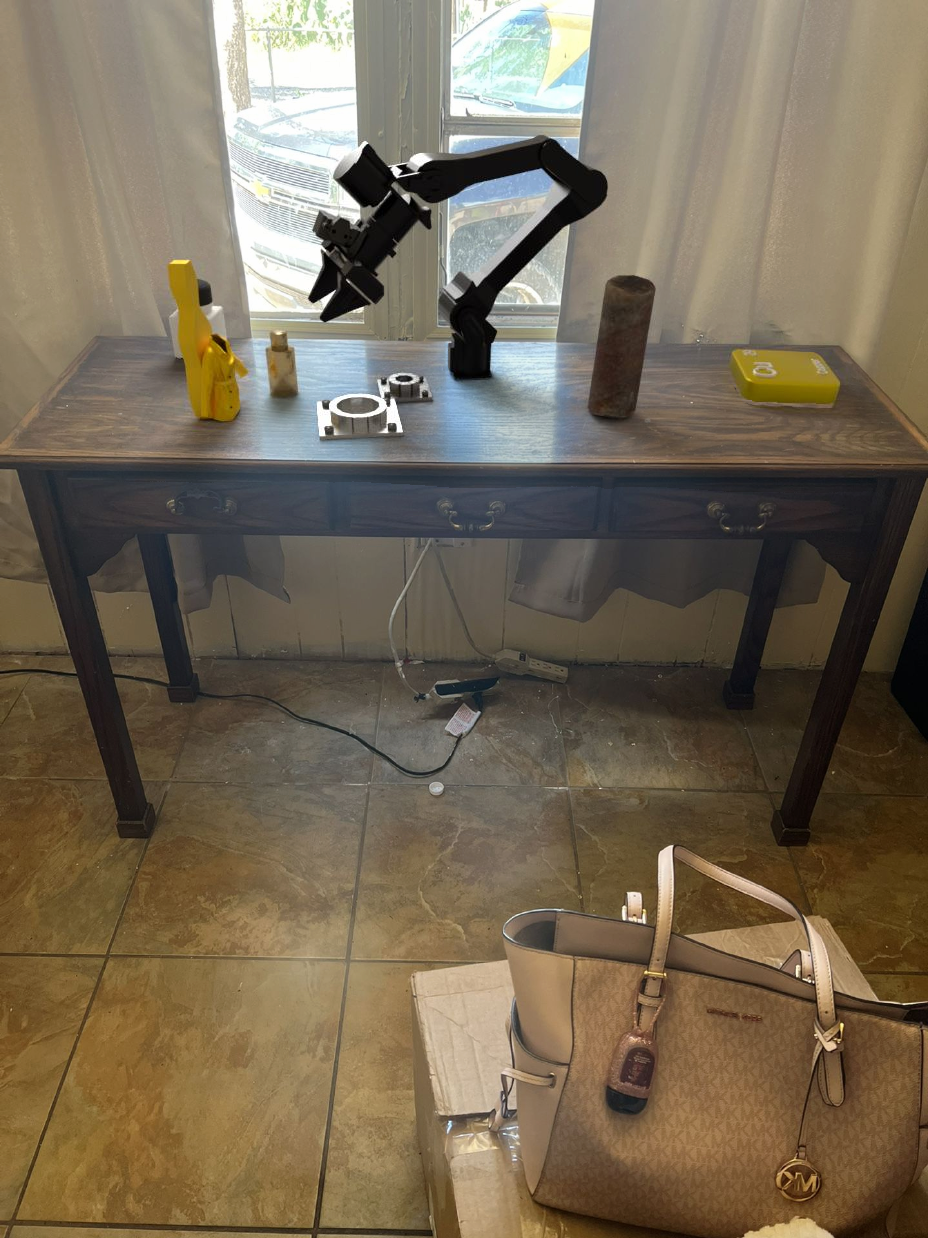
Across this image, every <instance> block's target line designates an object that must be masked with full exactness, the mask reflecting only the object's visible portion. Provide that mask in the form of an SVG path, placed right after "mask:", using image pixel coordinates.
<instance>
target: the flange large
mask: <svg viewBox="0 0 928 1238" xmlns="http://www.w3.org/2000/svg"><path fill="white" fill-rule="evenodd" d="M396 403H397V402H395V399H390V398H388V397H385V398H382V399H381V398H380V396H376V395H373V394H366V393H364V394H363V393H358V394H357V393H356V394H355V393H352V394H344V395H343V396H339V397H336V398H334V399H333V400H332V401H331V400H329V399H324V400H321V401H317V402H316V405H317V419H318V430H319V440H320V441H321V440H323V441H324V440H342V439H363V438H380V437H381V438H382V437H385V438H386V437H400V436H401V437H402V436H404V432H403V428H402V427H403V426H402V424H401V420H400V416H399V412H398V408H397V404H396Z"/></svg>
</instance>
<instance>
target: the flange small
mask: <svg viewBox="0 0 928 1238" xmlns="http://www.w3.org/2000/svg"><path fill="white" fill-rule="evenodd" d="M376 384H377V387H378V388H377V389H378V392H379V398H381V399H382V398H385V397H388V398H390V399H395V403H413V402H416V403H417V402H433V395H432V392H431V389H430V386H429V383H428V381H427V378H426V377H424V375H417V374H413V373H410V372H409V373H408V372H400V373H399V372H398V373H394V374H392V375H390V376H389V377H388V378H387V377H384V376H383V377H380V379H377V380H376Z"/></svg>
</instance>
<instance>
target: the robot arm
mask: <svg viewBox="0 0 928 1238" xmlns="http://www.w3.org/2000/svg"><path fill="white" fill-rule="evenodd" d="M537 170H542V171H543V172H544V173H545V174H546V175H547V176H548V177H549V178H550V179H551V180H552V181H553V182H552V184H551V185H550V187H549V190H548V192H547V194H546V197H545V200H544V202H543V203H542V205H541V206H540V207H539V208H538V209H537V210H536V211H535V212H534V213H533V215H531V216H530V217H529V218H528V220H527V221H525V223H524V224H523V225H522V226H521V227H520V228H519V229H517V231H516V232H515V233H514V234H513V235H512V236H511V237H510V238H509V239H508V240H507V241H506V242H505V243H504V244H503V245H502V246H501V247H500V248H499V249H498V250H497V251H496V252H495V253H494V254H493V255H492V257H490V259H488V260H487V261H486V263H485V264H483V266H482V267H481V268H480V269H478V270H477V271H476V272H473V273H472V274H469V275H468V274H466V273H465V272H464V271H463V270H460V271H458V272H457V273H456V274H455V276H454V277H453V279H452V280H451V281H450V282H449V283H448V284H446V285H444V286H442V288H441V289H442V290H443V292H442V293H441V294H440V296H439V298H438V306H437V307H438V308H437V309H438V312H439V315H440V317H441V318H442V319H443V320H444V321H445V322H446V323H447V324H448V326H449V328H450V329H451V331H453V332H452V333H451V337H450V339H451V341H450V342H449V343H448V344H447V367H448V368H447V369H448V370H449V372H450V373H451V375H452V377H453V379H454V380H475V379H477V380H478V379H480V380H481V379H492V378H493V373H492V370H491V366H492V365H491V362H492V344H493V343H495V339H496V337H497V335H498V330H497V329H496V328H495V327H494V326H493V325H492V324H491V323H490V322H489V321H488V320H487V318H488V317H489V315H490V314H491V312H492V310H493V308H494V305H495V302H496V301H497V298H498V297H499V294H500V292H501V291H503V290H504V289H505V288H506V287H507V286H508V284H509V283H510V282H512V281H513V279H514V278H515V277H516V276H518V274H519V273H520V272H522V270H523V269H524V268H525V267H526V266H527V265H528V264H529V263H530V262H531V261H532V260H533V259H534V258H535V257H536V256H537V255H538V254H539V253H540V252H541V251H542V250H543V249H544V248H545V247H546V246H547V245H548V244H549V243H550V242H551V241H552V240H553V239H554V238H555V237H556V236H557V235H558V234H559V233H560V232H561V231H562V230H563V229H564V228H565V227H568V226H569V225H573V224H574V223H576V222H578V221H580V220H583V219H585V218H586V217H588V216H589V215H590V214H592V213H593V212H594V211H596V210H597V209H598V208H600V207H601V206H602V205H603V204H604V203H605V201H606V199H607V197H608V189H609V185H608V179H607V178H606V175H605V174H604V173H603V172H602V171H601V170H598V169H597V168H596V169H595V168H594V167H591V166H589V165H588V164H584V163H583V162H581V161H579V160H578V159H577V158H576V157H575V156H573V155H572V154H571V153H570V152H568V151H567V150H566V149H564V147H563V146H561V144H560V143H559V142H558V140H556V139H554V138H552V137H549V136H547V135H544V134H538V135H536V136H534V137H532V138H528V139H524V140H520V141H515V142H510V143H507V144H503V145H502V144H501V145H498V146H497V145H496V146H492V147H488V148H483V149H479V150H478V149H477V150H475V151H470V152H465V153H450V152H419V153H417V154H413V155H412V156H411V157H410V158H409V161H408V162H402V163H398V164H394V165H387V164H386V163H385V162H384V161H383V159H381V157H380V156H379V155H378V154H377V152H376V150H375V149H374V147H373V146H372V145H371V144H370V143H369V142H367V141H362V143H361V144H360V146H359V147H357V148H354V149H353V150H352V151H350V152H349V153H348V154H347V155H344V157H343V158H342V159H341V160H340V161H339V163H338V165H336V167H335V170H334V172H333V174H332V179H333V180H334V181H335V182H336V184H338V186H339V187H341V188H342V189H343V190H344V191H345V192H346V193H347V194H348V195H349V196H350V197H351V198H352V199H353V200H354V201H355V202H356V203H357V204H358V205H359V206H360V208H362V209H364V208H368V207H369V206H370V207H371V208H374V210H373V211H372V212H371V214H369V216H368V217H367V218H366V219H364V218H363V217H362V218H358V219H357V220H356V221H355V222H354V223H352V222H351V221H350V220H349V219H348V218H344V217H342V216H341V215H340V214H337V215H334V214H332V213H330V212H328V211H325V210H323V209H319V210H318V214H317V215H316V219H315V221H314V224H313V228H312V230H311V231H312V232H313V233H315V234H314V235H315V236H316V237H317V238H318V239H320V240H323V241H322V242H321V243H320V246H321V247H323V248H320V255H321V263H322V265H321V267H320V270H319V273H318V274H317V275H318V276H317V277H316V279H315V282H314V283H313V286H312V288H311V290H310V293H309V295H308V297H307V300H308V301H309V302H310V303H311V304H315V303H318V301H321V300H323V299H324V298H325V297H327V296H329V295H330V294H331V293H333V294H332V296H330V298H329V300H328V302H327V303H326V305H325V307H324V308H323V309H322V312H320V315H319V317H318V318H319V320H320V321H322V323H327V322H330V321H332V320H334V319H337V318H339V317H341V316H343V315H346V314H348V313H351V312H353V311H355V310H358V309H361V308H363V307H366V306H368V307H370V306H372V303H373V305H374V304H375V305H377V304H378V303H379V302H380V301H381V300H382V298H383V297H385V285H384V284H383V283H382V282H381V281H380V280H379V278H378V276H379V273H378V272H377V270H378V269H379V268H380V266H381V265H382V264H383V263H384V262H385V261H386V260H387V259H388V257H389V256H390V258H392V259H393V258H395V256H396V255H397V252H396V250H395V249H396V248H397V247H398V246H399V245H400V243H401V242H402V241H403V240H404V238H405V237H406V236H407V235H408V234H409V233H410V231H412V229H413V228H414V227H415V226H416V225H417V223H418V222H419V223H420V225H422V226H424V228H425V229H427V230H429V231H430V230H432V213H433V211H432V209H431V208H430V207H428V206H427V205H426V206H421V205H420V204H419V203H418V202H417V201H416V200H415V199H414V197H413V196H412V195H411V194H409V193H412V194H414V195H415V196H417V197H418V198H420V199H421V200H422V201H424V202H425V203H428V204H438V203H441V202H443V201H446V200H448V199H450V198H452V197H455V196H457V195H459V194H460V193H461V192H463V191H464V190H466V189H467V188H469V187H471V186H474V185H477V184H481V183H484V182H485V183H486V182H488V181H494V180H498V179H503V178H506V177H510V176H515V175H519V174H524V173H528V172H532V171H537ZM393 184H395V185H396V186H398V187H399V188H401V189H402V190H404V191H405V192H407V193H405V194H402V195H401V194H400V193H399V192H398V191H397V190H396V189H395V188H394V187H393V186H392V185H393ZM323 249H324V250H323Z"/></svg>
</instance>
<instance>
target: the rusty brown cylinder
mask: <svg viewBox="0 0 928 1238" xmlns="http://www.w3.org/2000/svg"><path fill="white" fill-rule="evenodd" d="M655 296H656V286H655V284H654V283H653V282H652V281H651V279H648V278H645V277H642V276H639V275H635V274H629V275H627V274H622V275H621V274H620V275H619V274H618V275H616V276H612V277H610V279H608V280H606V283H605V286H604V292H603V298H602V299H603V300H602V304H601V305H602V306H601V314H600V320H599V321H600V322H599V327H598V335H597V341H596V350H595V355H594V360H593V361H594V362H593V369H592V373H591V381H590V388H589V395H588V402H587V409H588V411H589V413H590V414H592V415H594V416H600V417H605V418H609V419H611V420H613V419H614V420H621V419H623V418H627V417H629V416H631V415H632V414H633V413H634V412H635V411H636V409H637V404H638V397H639V394H640V393H639V392H640V386H641V380H642V375H643V374H642V373H643V368H644V361H645V354H646V349H647V343H648V338H649V337H648V336H649V330H650V324H651V318H652V314H653V308H654V307H653V306H654V301H655Z"/></svg>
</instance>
